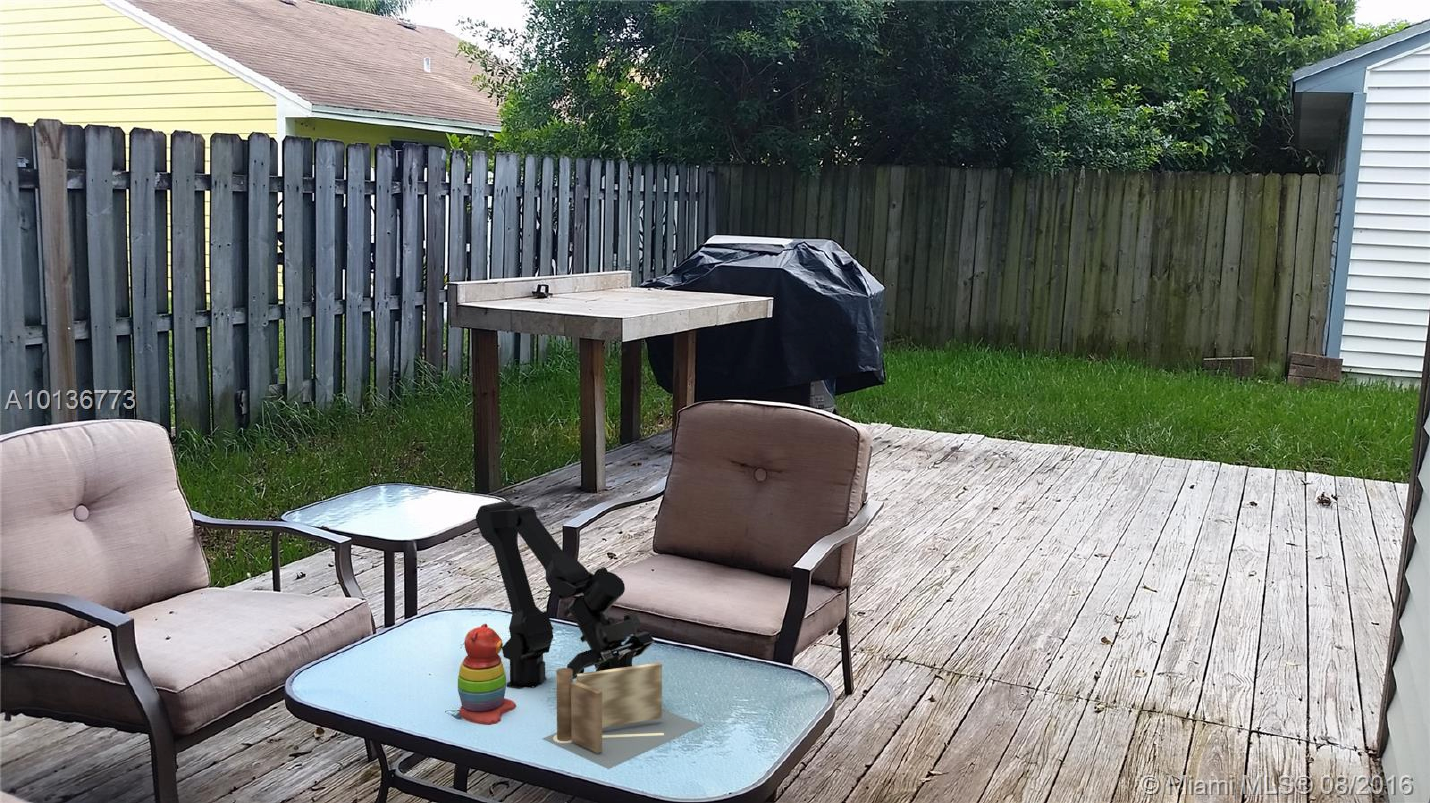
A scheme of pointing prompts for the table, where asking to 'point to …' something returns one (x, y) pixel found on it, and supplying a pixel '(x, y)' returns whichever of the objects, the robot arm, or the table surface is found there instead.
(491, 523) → the robot arm
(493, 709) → the stacking bear
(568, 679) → the fixed fence panel
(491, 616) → the table surface
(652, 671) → the folding fence panel
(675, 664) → the table surface
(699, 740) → the table surface
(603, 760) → the board
